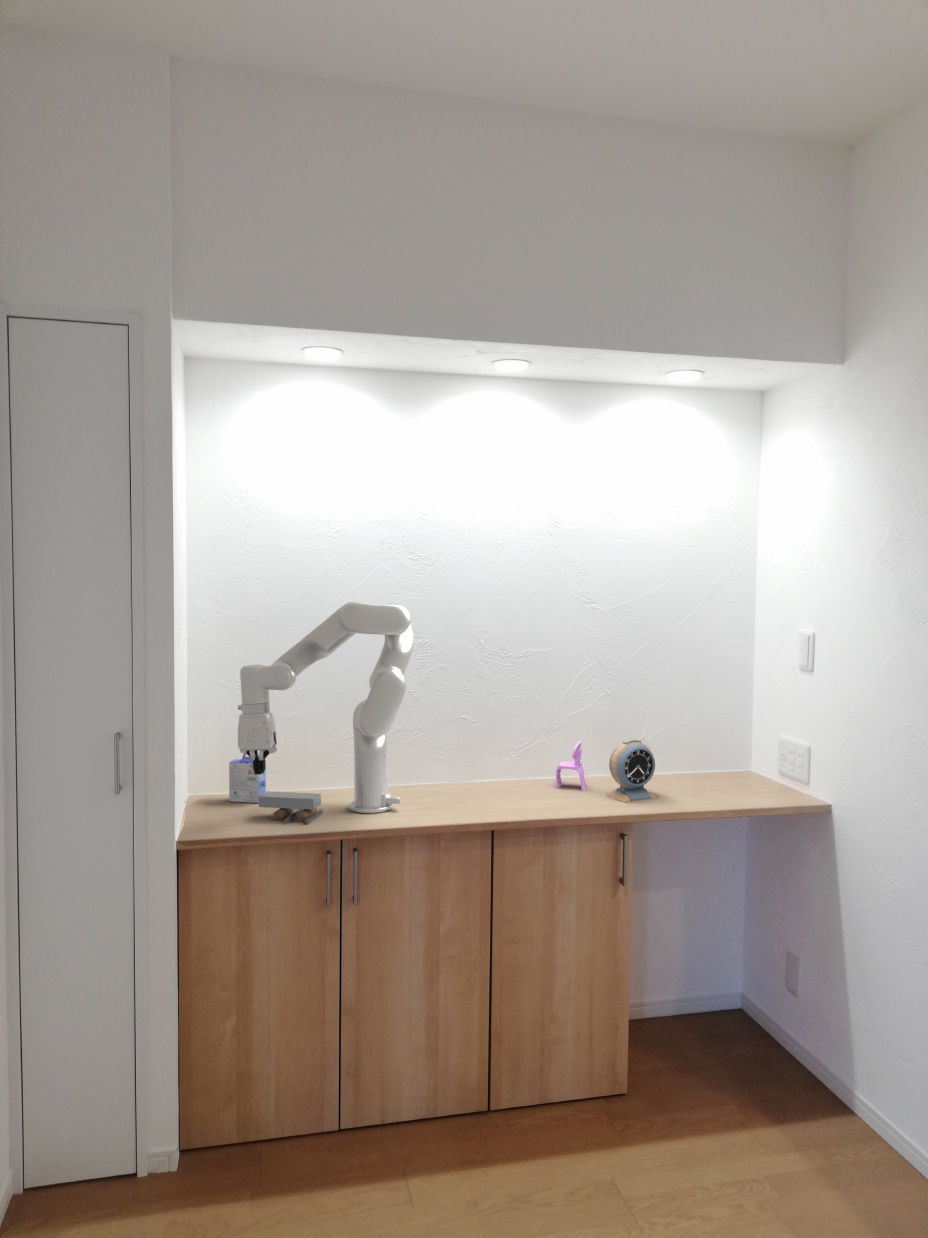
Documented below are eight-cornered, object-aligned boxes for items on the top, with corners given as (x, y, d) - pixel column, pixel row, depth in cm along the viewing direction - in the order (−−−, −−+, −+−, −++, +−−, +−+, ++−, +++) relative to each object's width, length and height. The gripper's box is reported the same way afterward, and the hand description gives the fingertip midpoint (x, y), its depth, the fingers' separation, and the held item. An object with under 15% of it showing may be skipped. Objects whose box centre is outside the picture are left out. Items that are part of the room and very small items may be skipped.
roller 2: (302, 825, 242) (309, 816, 242) (294, 818, 242) (300, 809, 242) (312, 817, 250) (318, 809, 249) (304, 810, 250) (310, 802, 250)
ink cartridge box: (267, 799, 267) (266, 751, 266) (259, 803, 262) (258, 755, 261) (236, 797, 269) (236, 750, 268) (228, 802, 264) (227, 754, 263)
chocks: (322, 812, 251) (322, 809, 251) (307, 824, 240) (307, 820, 239) (300, 811, 253) (299, 808, 252) (284, 823, 241) (284, 819, 241)
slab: (320, 804, 248) (320, 793, 248) (313, 809, 242) (313, 799, 242) (267, 801, 251) (267, 791, 251) (258, 807, 245) (258, 796, 245)
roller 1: (282, 806, 251) (286, 815, 251) (271, 813, 243) (276, 823, 243) (290, 801, 251) (295, 811, 251) (280, 809, 243) (285, 818, 243)
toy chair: (560, 783, 287) (560, 737, 287) (587, 785, 284) (587, 739, 284) (554, 789, 280) (554, 742, 279) (581, 791, 277) (582, 744, 276)
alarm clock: (621, 802, 262) (621, 744, 262) (603, 795, 271) (603, 738, 270) (660, 798, 268) (661, 740, 267) (641, 790, 277) (642, 735, 276)
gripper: (225, 711, 245) (229, 776, 246) (276, 710, 242) (279, 776, 243) (236, 707, 252) (240, 770, 253) (286, 706, 249) (289, 770, 251)
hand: (259, 773), depth 248 cm, fingers closed
